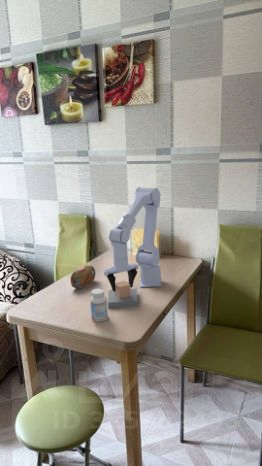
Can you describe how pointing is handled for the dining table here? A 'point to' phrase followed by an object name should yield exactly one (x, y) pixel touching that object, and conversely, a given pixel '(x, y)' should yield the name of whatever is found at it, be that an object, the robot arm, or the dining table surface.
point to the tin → (82, 277)
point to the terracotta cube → (122, 289)
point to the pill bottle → (98, 305)
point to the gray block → (122, 300)
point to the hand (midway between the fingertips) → (122, 288)
